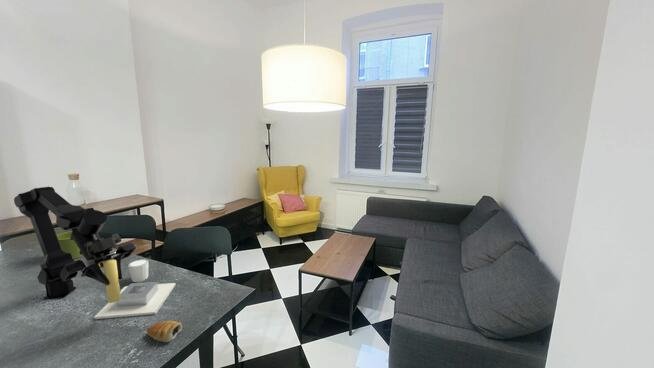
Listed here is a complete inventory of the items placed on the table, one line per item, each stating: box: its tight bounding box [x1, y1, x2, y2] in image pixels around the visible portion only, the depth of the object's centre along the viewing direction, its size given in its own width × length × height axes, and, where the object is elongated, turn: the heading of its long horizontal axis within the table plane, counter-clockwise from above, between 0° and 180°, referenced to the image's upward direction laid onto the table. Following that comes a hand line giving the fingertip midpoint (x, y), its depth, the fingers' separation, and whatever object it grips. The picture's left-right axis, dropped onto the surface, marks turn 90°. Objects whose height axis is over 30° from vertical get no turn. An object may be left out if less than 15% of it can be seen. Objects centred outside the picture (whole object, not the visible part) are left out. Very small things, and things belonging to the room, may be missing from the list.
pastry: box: [146, 320, 183, 343], centre depth 81 cm, size 9×7×4 cm
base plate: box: [93, 282, 176, 320], centre depth 96 cm, size 18×18×1 cm
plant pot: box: [56, 230, 84, 260], centre depth 126 cm, size 12×12×11 cm
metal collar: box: [117, 281, 159, 307], centre depth 96 cm, size 9×9×4 cm
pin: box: [102, 260, 121, 303], centre depth 84 cm, size 3×3×13 cm
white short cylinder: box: [127, 258, 150, 283], centre depth 110 cm, size 7×7×7 cm
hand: (114, 281), depth 84 cm, fingers closed on pin, 3 cm apart
